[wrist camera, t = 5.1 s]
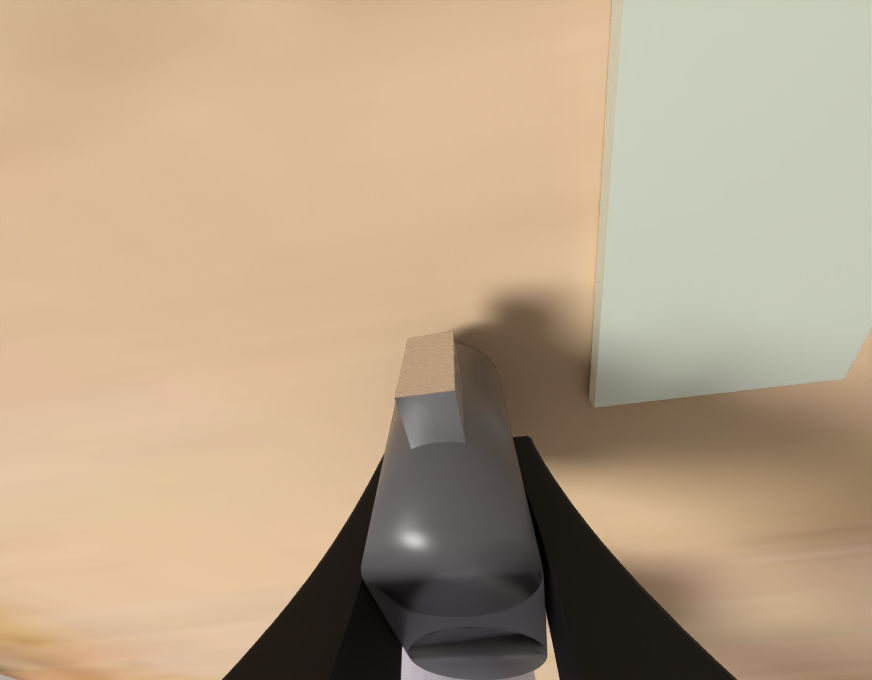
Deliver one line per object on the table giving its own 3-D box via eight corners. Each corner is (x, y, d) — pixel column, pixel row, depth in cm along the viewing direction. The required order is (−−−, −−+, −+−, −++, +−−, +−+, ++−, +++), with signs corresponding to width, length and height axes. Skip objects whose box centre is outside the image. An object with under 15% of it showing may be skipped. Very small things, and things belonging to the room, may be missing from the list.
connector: (511, 484, 14) (548, 678, 9) (432, 492, 14) (423, 681, 9) (489, 297, 10) (538, 460, 5) (378, 315, 10) (305, 483, 5)
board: (827, 369, 13) (843, 378, 12) (588, 398, 14) (594, 407, 13) (1141, -257, 6) (1207, -296, 5) (618, -103, 7) (632, -124, 6)
